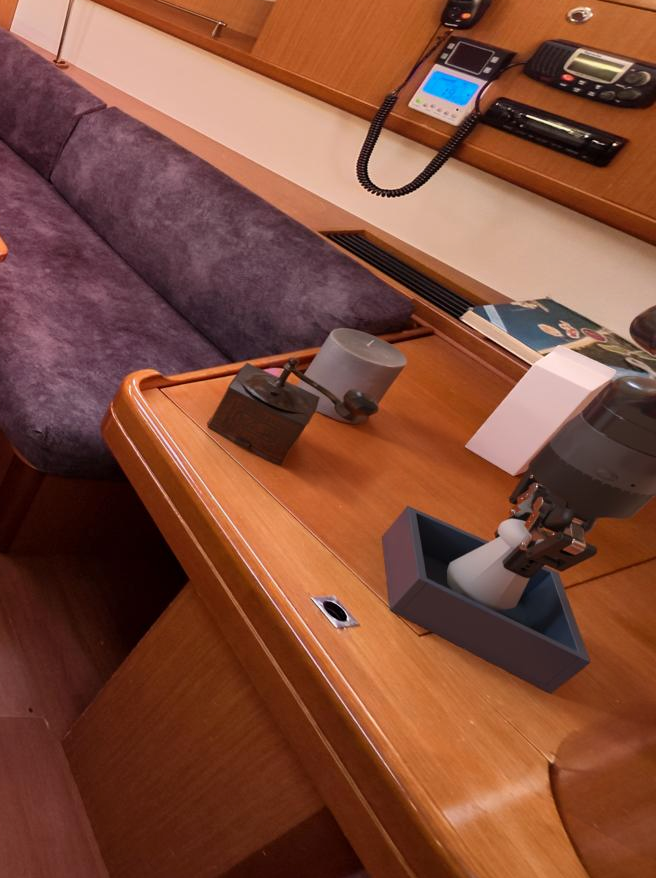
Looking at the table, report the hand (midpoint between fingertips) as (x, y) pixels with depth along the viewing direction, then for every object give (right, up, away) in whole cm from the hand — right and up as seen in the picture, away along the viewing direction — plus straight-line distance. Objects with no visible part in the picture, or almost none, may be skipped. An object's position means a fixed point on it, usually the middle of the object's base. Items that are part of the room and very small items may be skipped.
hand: (510, 556), depth 76 cm
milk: (+33, 0, +27) cm, 43 cm away
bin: (0, -10, +5) cm, 11 cm away
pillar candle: (+15, +5, +36) cm, 40 cm away
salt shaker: (0, -8, +4) cm, 8 cm away
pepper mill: (-4, +2, +28) cm, 29 cm away
